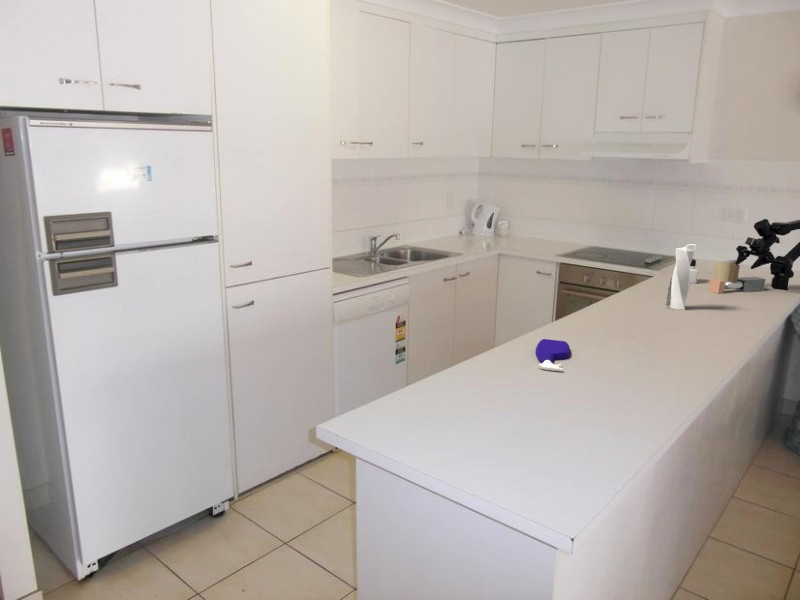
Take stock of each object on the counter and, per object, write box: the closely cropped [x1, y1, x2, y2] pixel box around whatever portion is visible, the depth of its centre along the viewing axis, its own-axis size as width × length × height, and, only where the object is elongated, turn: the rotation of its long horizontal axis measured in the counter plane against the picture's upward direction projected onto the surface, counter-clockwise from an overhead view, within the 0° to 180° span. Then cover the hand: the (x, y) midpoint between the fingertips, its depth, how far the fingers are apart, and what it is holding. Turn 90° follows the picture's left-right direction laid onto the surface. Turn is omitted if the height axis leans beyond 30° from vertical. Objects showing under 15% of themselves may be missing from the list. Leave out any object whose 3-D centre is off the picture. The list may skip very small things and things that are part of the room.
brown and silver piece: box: [723, 264, 745, 290], centre depth 299 cm, size 18×4×12 cm, turn 107°
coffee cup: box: [714, 256, 737, 282], centre depth 320 cm, size 9×9×12 cm
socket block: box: [708, 278, 725, 295], centre depth 296 cm, size 3×6×6 cm, turn 17°
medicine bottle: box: [690, 258, 699, 285], centre depth 317 cm, size 7×7×12 cm
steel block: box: [734, 276, 766, 293], centre depth 302 cm, size 12×6×6 cm, turn 107°
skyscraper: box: [665, 243, 698, 311], centre depth 263 cm, size 8×8×28 cm
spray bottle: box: [535, 338, 571, 372], centre depth 200 cm, size 3×11×24 cm
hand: (743, 266), depth 298 cm, fingers open, 9 cm apart
